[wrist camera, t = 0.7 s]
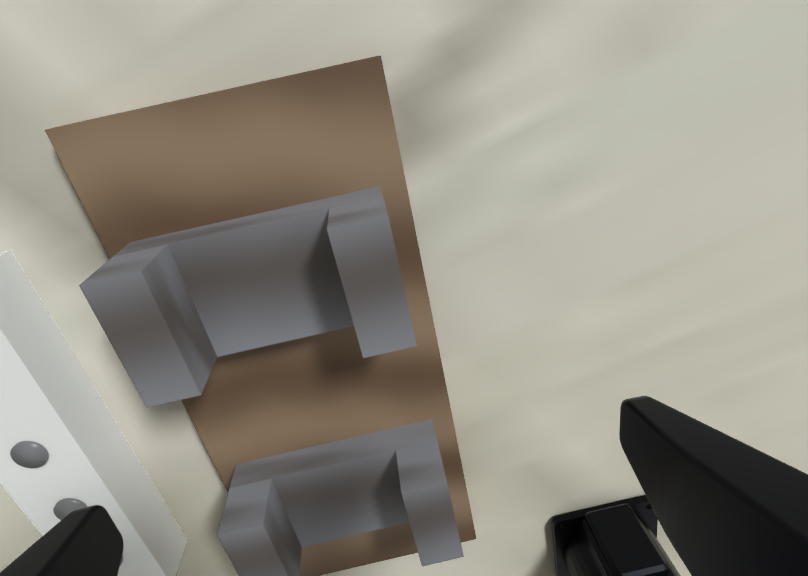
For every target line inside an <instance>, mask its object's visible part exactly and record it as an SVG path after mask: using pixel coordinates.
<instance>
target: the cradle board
mask: <svg viewBox="0 0 808 576" xmlns="http://www.w3.org/2000/svg"><path fill="white" fill-rule="evenodd" d="M45 131H46V133H47V135H48V137H49V139H50V141H51V143H52V145H53V147H54V149H55V151H56V153H57V155H58V157H59V159H60V161H61V163H62V165H63V167H64V169H65V171H66V173H67V175H68V177H69V179H70V181H71V183H72V185H73V187H74V189H75V191H76V193H77V195H78V197H79V199H80V201H81V203H82V204H83V206H84V208H85V210H86V212H87V214H88V216H89V218H90V220H91V222H92V224H93V226H94V228H95V230H96V232H97V234H98V236H99V238H100V240H101V242H102V244H103V246H104V248H105V250H106V252H107V254H108V256H109V258H110V260H108V261H107V262H106V263H105V264H104V265H103V266H101V267H100V268H99V269H98V270H97V271H96V272H94V273H93V274H92V275H91V276H90V277H89V278H87V279H86V280H85V281H84V282H83V283H82V284H80V285H79V286H80V288H81V290H82V292H83V293H84V295H85V297H86V299H87V301H88V302H89V304H90V306H91V308H92V310H93V312H94V313H95V315H96V317H97V319H98V321H99V322H100V324H101V326H102V328H103V330H104V331H105V333H106V335H107V337H108V339H109V341H110V342H111V344H112V346H113V348H114V350H115V351H116V353H117V355H118V357H119V359H120V360H121V362H122V364H123V366H124V368H125V370H126V371H127V373H128V375H129V377H130V379H131V380H132V382H133V384H134V386H135V388H136V389H137V391H138V393H139V395H140V397H141V399H142V400H143V402H144V404H145V406H146V408H147V407H152V406H156V405H160V404H165V403H169V402H173V401H178V400H182V402H183V404H184V406H185V408H186V410H187V412H188V414H189V416H190V418H191V420H192V422H193V424H194V426H195V428H196V430H197V432H198V433H199V435H200V437H201V439H202V441H203V443H204V445H205V447H206V449H207V451H208V453H209V455H210V457H211V459H212V461H213V463H214V465H215V467H216V469H217V471H218V473H219V475H220V477H221V479H222V481H223V483H224V485H225V487H226V489H227V491H228V496H227V500H226V503H225V507H224V511H223V514H222V518H221V522H220V525H219V529H218V533H217V536H218V538H219V540H220V542H221V543H222V545H223V547H224V549H225V551H226V553H227V554H228V556H229V558H230V560H231V562H232V563H233V565H234V567H235V569H236V571H237V572H238V574H239V576H319V575H323V574H328V573H332V572H336V571H340V570H345V569H349V568H353V567H358V566H362V565H366V564H371V563H375V562H379V561H383V560H388V559H392V558H396V557H401V556H405V555H409V554H414V553H419V557H420V560H421V564H422V566H426V565H430V564H434V563H439V562H443V561H447V560H452V559H456V558H460V557H464V556H463V552H462V547H461V542H465V541H469V540H474V539H476V535H475V530H474V525H473V520H472V515H471V509H470V504H469V499H468V494H467V489H466V484H465V479H464V474H463V469H462V464H461V459H460V454H459V449H458V444H457V439H456V434H455V429H454V424H453V419H452V413H451V408H450V403H449V398H448V393H447V388H446V383H445V378H444V373H443V368H442V363H441V358H440V353H439V348H438V343H437V338H436V333H435V328H434V323H433V318H432V312H431V307H430V302H429V297H428V292H427V287H426V282H425V277H424V272H423V267H422V262H421V257H420V252H419V247H418V242H417V237H416V232H415V227H414V222H413V217H412V211H411V206H410V201H409V196H408V191H407V186H406V181H405V176H404V171H403V166H402V161H401V156H400V151H399V146H398V141H397V136H396V131H395V126H394V121H393V115H392V110H391V105H390V100H389V95H388V90H387V85H386V80H385V75H384V70H383V65H382V60H381V56H376V57H371V58H367V59H362V60H358V61H353V62H349V63H344V64H340V65H335V66H331V67H326V68H322V69H317V70H313V71H308V72H303V73H299V74H294V75H290V76H285V77H281V78H276V79H272V80H267V81H263V82H258V83H254V84H249V85H245V86H240V87H236V88H231V89H227V90H222V91H218V92H213V93H209V94H204V95H200V96H195V97H191V98H186V99H181V100H177V101H172V102H168V103H163V104H159V105H154V106H150V107H145V108H141V109H136V110H132V111H127V112H123V113H118V114H114V115H109V116H105V117H100V118H96V119H91V120H87V121H82V122H78V123H73V124H68V125H64V126H59V127H55V128H51V129H47V130H45Z"/></svg>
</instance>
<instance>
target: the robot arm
mask: <svg viewBox="0 0 808 576" xmlns="http://www.w3.org/2000/svg"><path fill="white" fill-rule="evenodd" d="M620 442H621V445H622V448H623V450H624V452H625V454H626V456H627V458H628V460H629V462H630V464H631V466H632V468H633V470H634V472H635V474H636V476H637V478H638V480H639V482H640V484H641V486H642V488H643V490H644V492H645V494H646V496H641V497H637V498H633V499H628V500H624V501H620V502H616V503H611V504H607V505H603V506H598V507H594V508H590V509H585V510H581V511H577V512H573V513H568V514H564V515H560V516H557V517H555V518H554V519H553V520H552V534H553V545H554V556H555V567H556V576H680V574H679V573H678V571H677V570H676V568H675V567H674V565H673V563H672V562H671V560H670V559H669V557H668V556H667V554H666V553H665V551H664V549H663V548H662V546H661V545H660V543H659V542H658V540H657V520H659V522H660V524H661V526H662V528H663V530H664V532H665V533H666V535H667V537H668V538H669V540H670V542H671V543H672V545H673V547H674V548H675V550H676V551H677V553H678V555H679V556H680V558H681V559H682V561H683V562H684V564H685V566H686V567H687V569H688V570H689V572H690V573H691V575H692V576H808V474H806V473H804V472H802V471H800V470H798V469H796V468H794V467H792V466H789V465H787V464H785V463H783V462H781V461H779V460H777V459H775V458H773V457H771V456H769V455H767V454H765V453H763V452H761V451H759V450H757V449H755V448H753V447H751V446H749V445H747V444H745V443H743V442H741V441H739V440H737V439H734V438H732V437H730V436H728V435H726V434H724V433H722V432H720V431H718V430H716V429H714V428H712V427H710V426H708V425H706V424H704V423H702V422H700V421H698V420H696V419H694V418H692V417H690V416H688V415H686V414H684V413H681V412H679V411H677V410H675V409H673V408H671V407H669V406H667V405H665V404H663V403H661V402H659V401H657V400H655V399H653V398H651V397H648V396H640V397H635V398H630V399H626V400H624V401H623V402H622V404H621V412H620ZM123 546H124V544H123V538H122V535H121V533H120V531H119V530H118V528H117V527H116V525H115V523H114V522H113V520H112V518H111V517H110V515H109V514H108V512H107V510H106V509H105V508H104V507H103V506H101V505H93V506H88V507H83V508H78V509H76V510H73V511H72V512H70V513H69V514H68V515H67V516H66V517H64V518H63V519H62V520H61V521H60V522H59V523H57V524H56V525H55V526H54V527H53V528H52V529H50V530H49V531H48V532H47V533H46V534H45V535H43V536H42V537H41V538H40V539H39V540H38V541H36V542H35V543H34V544H33V545H32V546H31V547H30V548H28V549H27V550H26V551H25V552H24V553H23V554H21V555H20V556H19V557H18V558H17V559H16V560H14V561H13V562H12V563H11V564H10V565H9V566H7V567H6V568H5V569H4V570H3V571H2V572H0V576H117V575H118V571H119V567H120V563H121V558H122V554H123Z"/></svg>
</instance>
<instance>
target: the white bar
mask: <svg viewBox="0 0 808 576" xmlns="http://www.w3.org/2000/svg"><path fill="white" fill-rule="evenodd" d="M0 484H1V485H2V486H3V487H4V489H5V490H6V491H7V492H8V494H9V495H10V496H11V497H12V499H13V500H14V501H15V502H16V503H17V505H18V506H19V507H20V508H21V510H22V511H23V512H24V513H25V515H26V516H27V517H28V518H29V520H30V521H31V522H32V523H33V525H34V526H35V527H36V528H37V530H38V531H39V532H40V533H41V535H42V536H43V535H45V534H46V533H47V532H48V531H49V530H50V529H52V528H53V527H54V526H55V525H56V524H57V523H59V522H60V521H61V520H62V519H63V518H64V517H66V516H67V515H68V514H69V513H70V512H72V511H73V510H76V509H78V508H83V507H88V506H93V505H101V506H103V507H104V508H105V509H106V510H107V512H108V514H109V515H110V517H111V518H112V520H113V522H114V523H115V525H116V527H117V528H118V530H119V531H120V533H121V535H122V538H123V544H124V546H123V554H122V558H121V563H120V567H119V571H118V575H117V576H176V574H177V571H178V568H179V565H180V562H181V559H182V556H183V553H184V550H185V547H186V544H187V541H188V540H187V538H186V536H185V535H184V533H183V531H182V530H181V528H180V526H179V525H178V523H177V521H176V520H175V518H174V517H173V515H172V513H171V512H170V510H169V508H168V507H167V505H166V503H165V502H164V500H163V498H162V497H161V495H160V494H159V492H158V490H157V489H156V487H155V485H154V484H153V482H152V480H151V479H150V477H149V475H148V474H147V472H146V471H145V469H144V467H143V466H142V464H141V462H140V461H139V459H138V457H137V456H136V454H135V452H134V451H133V449H132V448H131V446H130V444H129V443H128V441H127V439H126V438H125V436H124V434H123V433H122V431H121V429H120V428H119V426H118V425H117V423H116V421H115V420H114V418H113V416H112V415H111V413H110V411H109V410H108V408H107V406H106V405H105V403H104V402H103V400H102V398H101V397H100V395H99V393H98V392H97V390H96V388H95V387H94V385H93V383H92V382H91V380H90V379H89V377H88V375H87V374H86V372H85V370H84V369H83V367H82V365H81V364H80V362H79V360H78V359H77V357H76V356H75V354H74V352H73V351H72V349H71V347H70V346H69V344H68V342H67V341H66V339H65V337H64V336H63V334H62V333H61V331H60V329H59V328H58V326H57V324H56V323H55V321H54V319H53V318H52V316H51V314H50V313H49V311H48V310H47V308H46V306H45V305H44V303H43V301H42V300H41V298H40V296H39V295H38V293H37V291H36V290H35V288H34V287H33V285H32V283H31V282H30V280H29V278H28V277H27V275H26V273H25V272H24V270H23V268H22V267H21V265H20V264H19V262H18V260H17V259H16V257H15V255H14V254H13V252H12V250H8V251H4V252H0Z"/></svg>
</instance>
